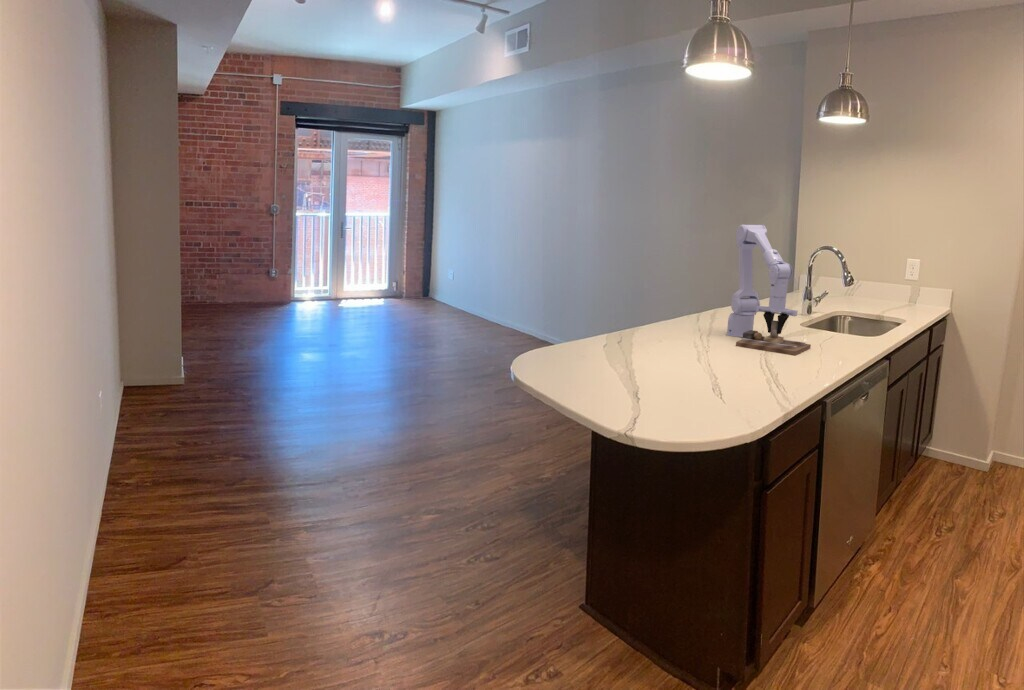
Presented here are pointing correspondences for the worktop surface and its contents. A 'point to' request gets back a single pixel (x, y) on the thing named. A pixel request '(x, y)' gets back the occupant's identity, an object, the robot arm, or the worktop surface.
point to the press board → (771, 344)
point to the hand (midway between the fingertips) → (774, 333)
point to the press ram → (774, 334)
